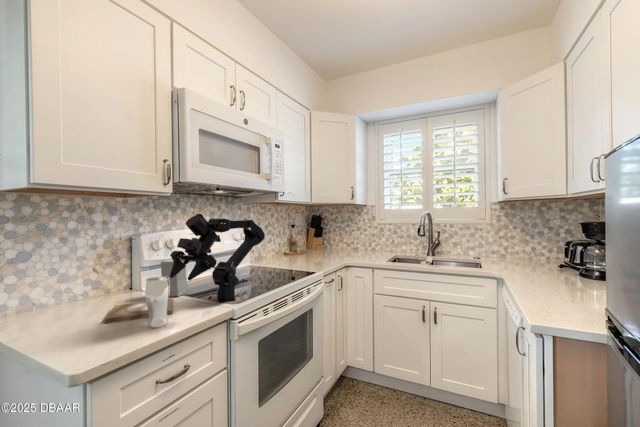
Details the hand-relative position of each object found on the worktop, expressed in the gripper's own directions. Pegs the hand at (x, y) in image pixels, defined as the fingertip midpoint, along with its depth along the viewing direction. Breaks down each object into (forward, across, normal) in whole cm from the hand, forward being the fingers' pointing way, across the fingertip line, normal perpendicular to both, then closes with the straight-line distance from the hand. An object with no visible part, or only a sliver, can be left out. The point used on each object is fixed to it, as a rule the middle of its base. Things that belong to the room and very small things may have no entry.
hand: (179, 278), depth 101 cm
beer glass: (+15, 0, +4) cm, 16 cm away
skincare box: (-3, -27, +22) cm, 35 cm away
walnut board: (+11, -17, +8) cm, 22 cm away
